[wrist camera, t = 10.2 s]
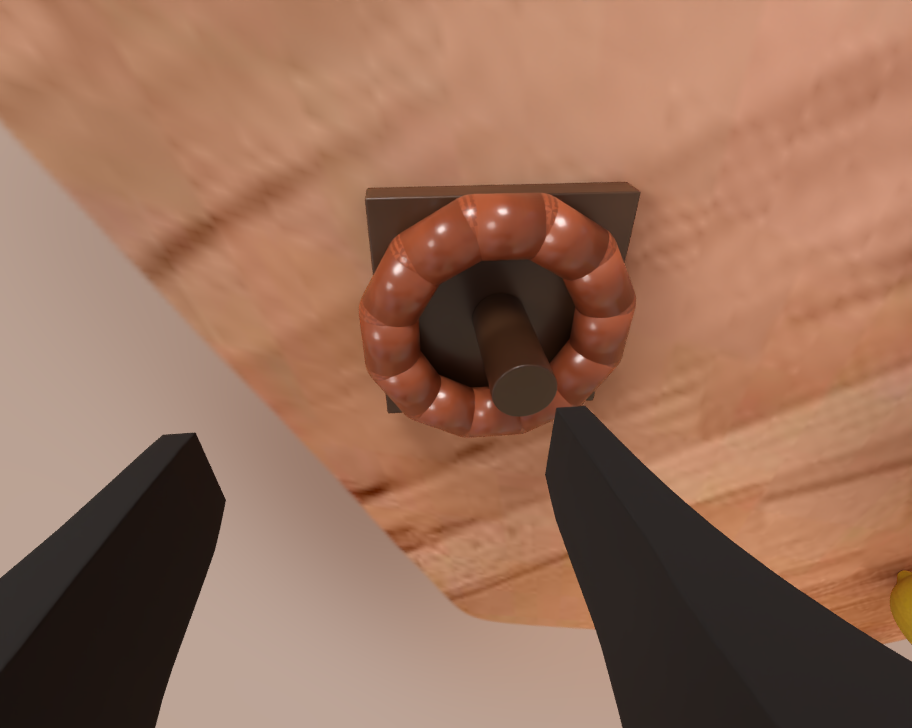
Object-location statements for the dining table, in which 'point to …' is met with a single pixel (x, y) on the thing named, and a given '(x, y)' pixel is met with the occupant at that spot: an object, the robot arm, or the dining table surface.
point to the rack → (498, 294)
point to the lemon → (903, 603)
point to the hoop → (492, 239)
